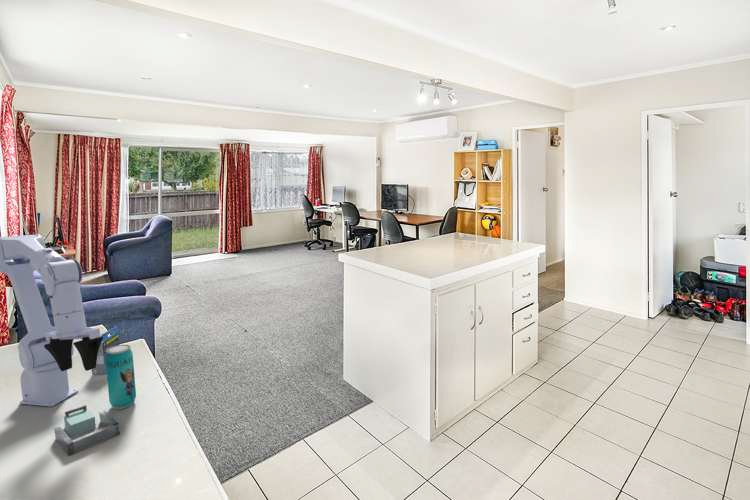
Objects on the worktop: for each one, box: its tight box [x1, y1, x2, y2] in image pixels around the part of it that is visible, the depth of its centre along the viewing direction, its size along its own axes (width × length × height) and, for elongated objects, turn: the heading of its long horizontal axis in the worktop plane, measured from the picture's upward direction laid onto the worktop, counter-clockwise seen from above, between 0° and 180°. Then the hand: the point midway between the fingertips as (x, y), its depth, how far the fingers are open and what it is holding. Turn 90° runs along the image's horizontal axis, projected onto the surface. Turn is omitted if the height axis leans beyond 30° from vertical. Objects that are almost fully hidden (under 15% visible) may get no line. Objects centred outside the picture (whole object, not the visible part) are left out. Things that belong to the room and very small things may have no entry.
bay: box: [53, 409, 121, 457], centre depth 89 cm, size 9×10×2 cm
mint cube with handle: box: [63, 404, 97, 438], centre depth 92 cm, size 6×4×4 cm
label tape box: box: [91, 325, 120, 376], centre depth 122 cm, size 9×4×12 cm, turn 6°
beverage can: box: [105, 344, 137, 410], centre depth 101 cm, size 6×6×15 cm
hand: (78, 369), depth 94 cm, fingers open, 7 cm apart
